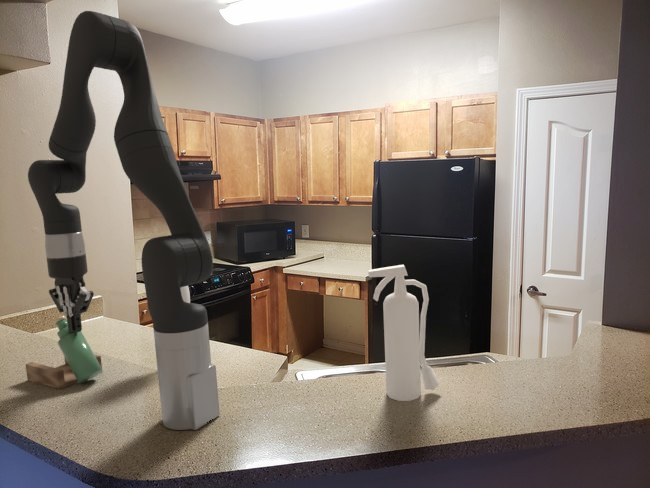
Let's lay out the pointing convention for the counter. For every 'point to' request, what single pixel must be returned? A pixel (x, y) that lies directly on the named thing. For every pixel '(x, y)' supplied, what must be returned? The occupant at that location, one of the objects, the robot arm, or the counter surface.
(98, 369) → the bottle
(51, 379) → the brown wooden u-shaped block
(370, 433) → the counter surface
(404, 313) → the fire extinguisher
